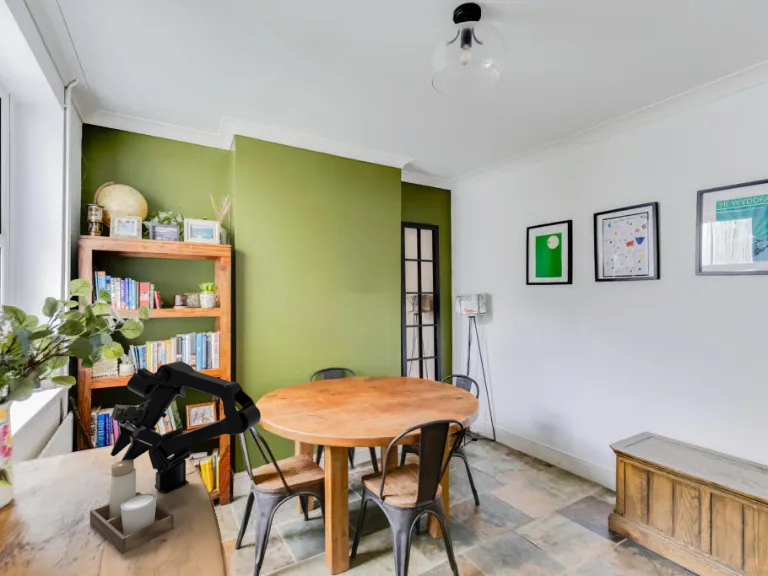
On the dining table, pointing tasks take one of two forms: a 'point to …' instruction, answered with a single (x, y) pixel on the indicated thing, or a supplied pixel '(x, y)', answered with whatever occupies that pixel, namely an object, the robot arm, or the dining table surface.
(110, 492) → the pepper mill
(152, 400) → the robot arm
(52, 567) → the dining table surface
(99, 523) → the walnut caddy
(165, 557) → the dining table surface
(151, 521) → the white cup
